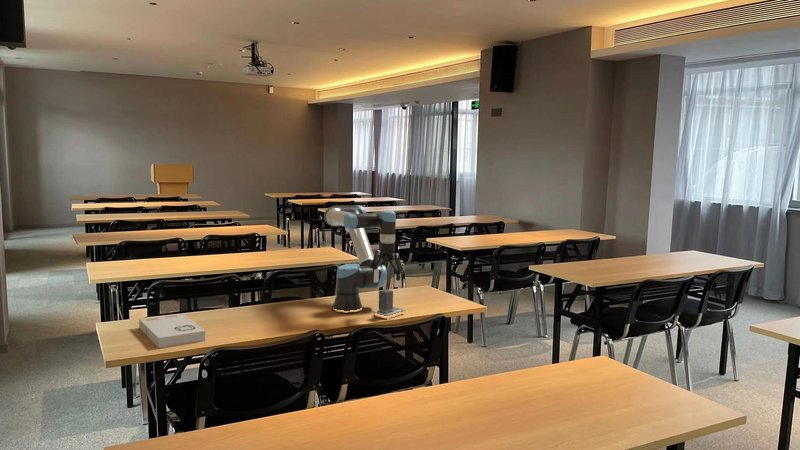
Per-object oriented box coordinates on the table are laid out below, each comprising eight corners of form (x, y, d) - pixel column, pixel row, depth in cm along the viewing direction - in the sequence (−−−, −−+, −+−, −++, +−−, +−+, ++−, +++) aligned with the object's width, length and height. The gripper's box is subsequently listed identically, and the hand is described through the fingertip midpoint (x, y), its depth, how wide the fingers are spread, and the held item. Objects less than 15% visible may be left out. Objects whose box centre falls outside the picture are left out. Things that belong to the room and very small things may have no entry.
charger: (378, 314, 290) (379, 290, 289) (385, 312, 294) (385, 289, 293) (385, 316, 287) (386, 292, 286) (392, 314, 291) (393, 290, 289)
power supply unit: (182, 323, 272) (182, 312, 271) (205, 342, 246) (205, 330, 245) (139, 329, 261) (138, 318, 260) (159, 350, 235) (158, 338, 234)
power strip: (373, 315, 291) (373, 310, 290) (391, 310, 301) (392, 305, 301) (386, 319, 285) (387, 314, 284) (405, 314, 295) (405, 308, 295)
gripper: (363, 239, 291) (362, 281, 294) (401, 246, 276) (400, 290, 278) (374, 238, 297) (372, 279, 300) (411, 244, 281) (410, 287, 284)
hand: (386, 284), depth 289 cm, fingers open, 13 cm apart
